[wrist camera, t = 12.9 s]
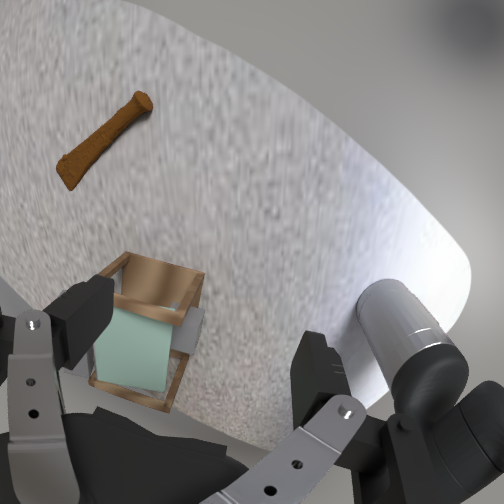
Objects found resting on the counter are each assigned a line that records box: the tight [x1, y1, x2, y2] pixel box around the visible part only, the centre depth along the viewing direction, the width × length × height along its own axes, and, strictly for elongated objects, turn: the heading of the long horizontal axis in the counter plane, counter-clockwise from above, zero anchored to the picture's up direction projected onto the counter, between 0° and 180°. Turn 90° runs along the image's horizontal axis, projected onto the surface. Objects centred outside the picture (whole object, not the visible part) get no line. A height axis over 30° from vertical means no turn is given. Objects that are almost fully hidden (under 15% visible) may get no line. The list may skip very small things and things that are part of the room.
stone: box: [170, 301, 205, 355], centre depth 44 cm, size 5×5×5 cm
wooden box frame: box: [88, 252, 205, 413], centre depth 40 cm, size 13×17×13 cm
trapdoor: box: [58, 290, 175, 392], centre depth 36 cm, size 15×14×3 cm
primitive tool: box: [56, 91, 153, 191], centre depth 37 cm, size 19×6×4 cm, turn 125°
